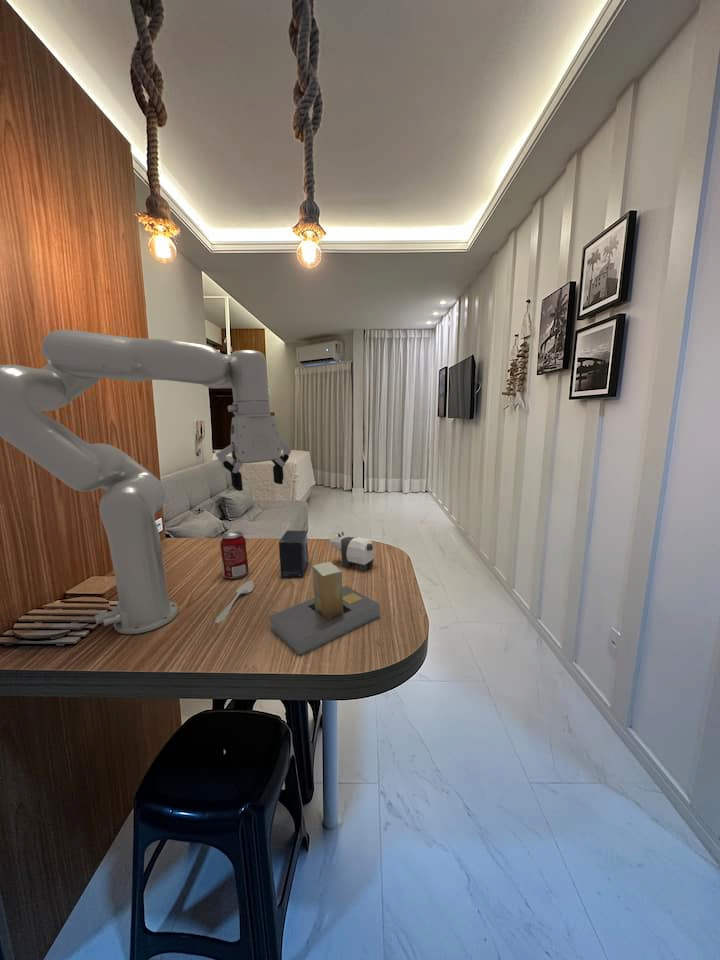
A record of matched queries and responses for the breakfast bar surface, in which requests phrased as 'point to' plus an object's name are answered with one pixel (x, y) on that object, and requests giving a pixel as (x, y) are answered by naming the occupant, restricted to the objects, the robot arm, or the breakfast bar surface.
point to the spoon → (245, 586)
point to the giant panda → (354, 551)
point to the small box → (293, 554)
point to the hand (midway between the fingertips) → (259, 486)
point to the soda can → (234, 555)
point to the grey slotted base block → (322, 621)
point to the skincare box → (328, 590)
